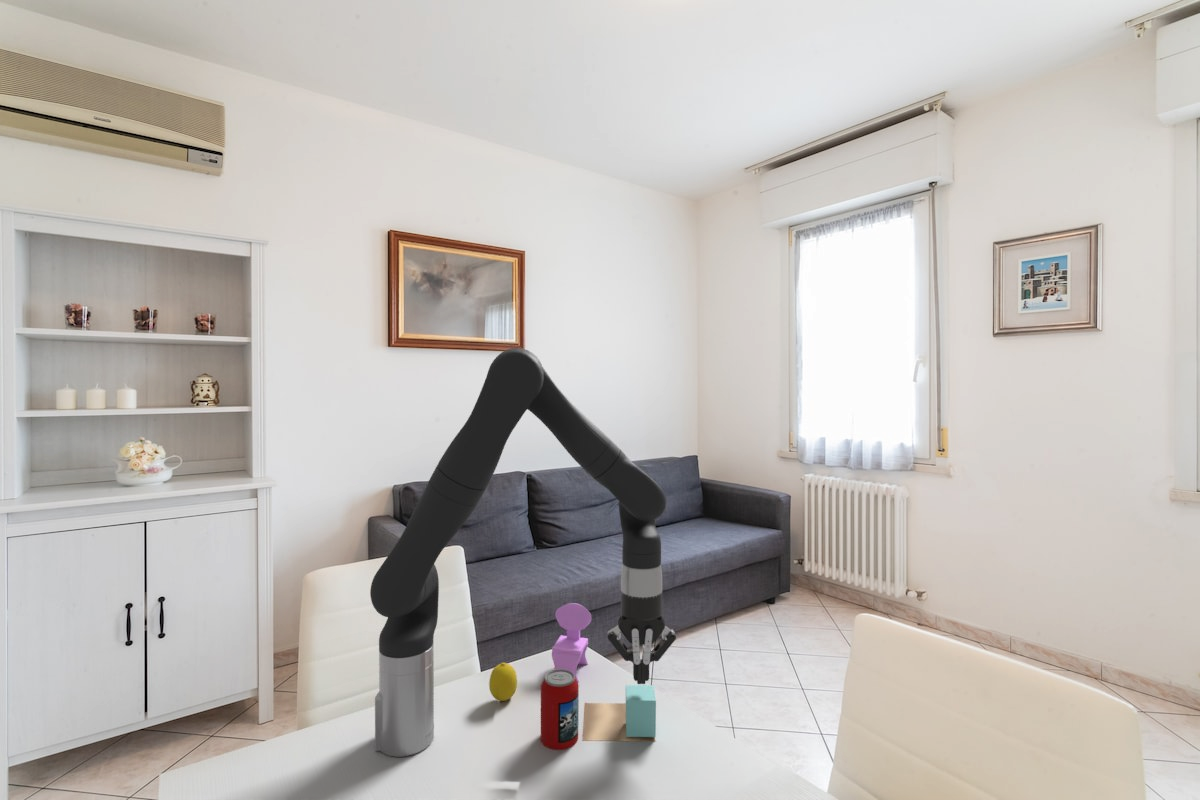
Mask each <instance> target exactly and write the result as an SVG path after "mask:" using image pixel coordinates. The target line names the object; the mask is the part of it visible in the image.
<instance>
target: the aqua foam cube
mask: <svg viewBox="0 0 1200 800" xmlns="http://www.w3.org/2000/svg"><path fill="white" fill-rule="evenodd" d="M625 703H626V718H625V720H626V737H655V738H656V735H657V733H656V729H657V728H656V725H657V724H656V721H657V718H656V717H657V716H656V715H657V699H656V693H655V685H654V684H653V685H650V684H649V685H648V684H626V685H625Z"/></svg>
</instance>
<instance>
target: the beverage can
mask: <svg viewBox="0 0 1200 800" xmlns="http://www.w3.org/2000/svg"><path fill="white" fill-rule="evenodd" d="M579 687H580V686H579V682H577V680H576V679H575V675H574V674H573V673H572V672H571V671H569V670H565V669H557V670H555V669H553V670H550V671H549V672H547V673H545V676H544V679H543V681H542V682H541V684H540V741H541V744H542V745H543V746H545V748H548V749H550V750H554V751H562V750H567V749H570V748H571V747H573V746H575V745H576V744H577V742H578V740H579V704H580V703H579V702H580V701H579V695H580V694H579Z"/></svg>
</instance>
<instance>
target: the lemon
mask: <svg viewBox="0 0 1200 800" xmlns="http://www.w3.org/2000/svg"><path fill="white" fill-rule="evenodd" d="M517 677H518V676H517V672H516V670H515V669H514V667H513V666H512V665H510V664H509V663H506V662H501V663H499V664H497V665H496V666H495V667H494V668H493V669H492V671H491V674H490V676H489V682H488V686H489V691H490V694H491V696H492V697H493V698H494V699H495V700H497V701H500V702H505V701H508V700H510V699H511V698H512V697H513V696H514V695H515V693H516V690H517V687H518V678H517Z"/></svg>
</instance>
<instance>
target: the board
mask: <svg viewBox="0 0 1200 800" xmlns="http://www.w3.org/2000/svg"><path fill="white" fill-rule="evenodd" d="M583 710H584V711H583V726H582V728H583V729H582V742H584V741H585V742H589V741H590V742H591V741H593V742H594V741H595V742H656V737H626V720H625V718H626V702H625V703H623V702H622V703H620V702H619V703H618V702H614V703H613V702H612V703H609V702H607V703H606V702H584V709H583Z"/></svg>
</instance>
